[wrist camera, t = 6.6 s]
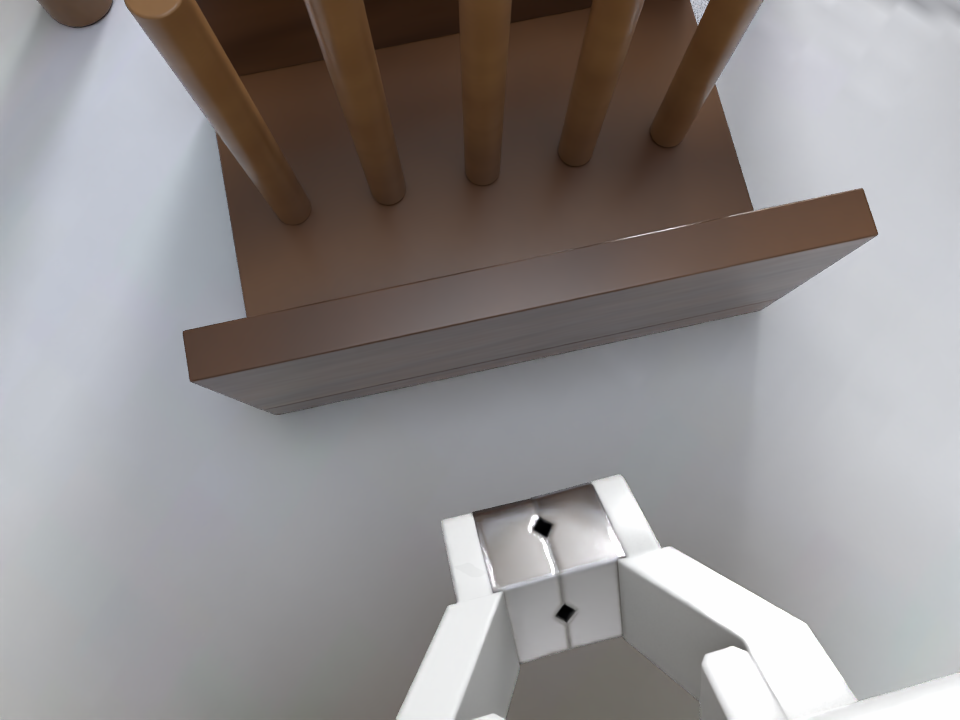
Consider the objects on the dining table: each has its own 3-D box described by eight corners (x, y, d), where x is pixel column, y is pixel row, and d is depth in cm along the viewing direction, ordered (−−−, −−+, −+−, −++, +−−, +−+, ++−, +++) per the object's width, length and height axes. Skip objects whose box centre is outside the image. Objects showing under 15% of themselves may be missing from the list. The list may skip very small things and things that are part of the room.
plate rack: (762, 310, 24) (1023, 141, 12) (275, 415, 23) (80, 339, 12) (666, -12, 26) (814, -408, 14) (217, 76, 25) (4, -267, 14)
